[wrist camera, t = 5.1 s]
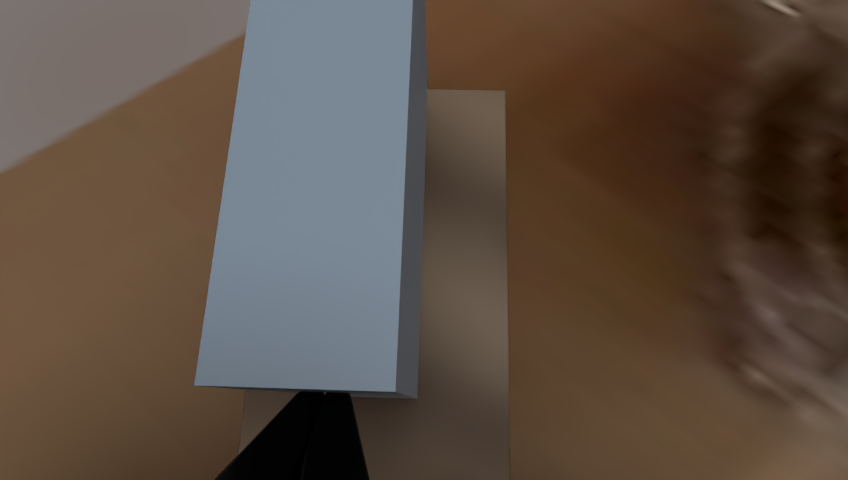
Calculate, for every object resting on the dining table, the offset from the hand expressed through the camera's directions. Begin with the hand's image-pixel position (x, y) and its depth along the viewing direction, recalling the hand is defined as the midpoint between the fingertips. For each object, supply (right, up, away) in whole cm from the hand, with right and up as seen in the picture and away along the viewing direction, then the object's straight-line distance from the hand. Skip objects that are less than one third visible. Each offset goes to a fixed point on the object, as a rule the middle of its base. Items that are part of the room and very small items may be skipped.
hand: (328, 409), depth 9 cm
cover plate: (0, +3, +9) cm, 9 cm away
